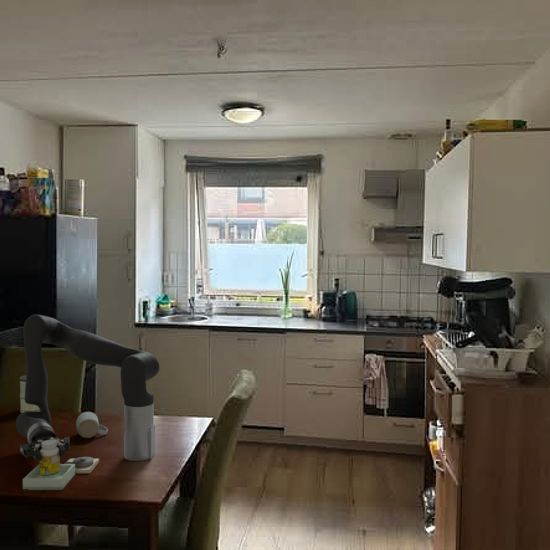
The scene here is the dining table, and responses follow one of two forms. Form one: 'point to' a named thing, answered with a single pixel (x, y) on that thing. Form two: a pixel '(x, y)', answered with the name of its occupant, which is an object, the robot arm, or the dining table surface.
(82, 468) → the beige board with disc
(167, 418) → the dining table surface
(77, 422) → the ceramic mug
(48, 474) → the supplement bottle
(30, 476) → the tray
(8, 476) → the dining table surface
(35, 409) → the coffee can
